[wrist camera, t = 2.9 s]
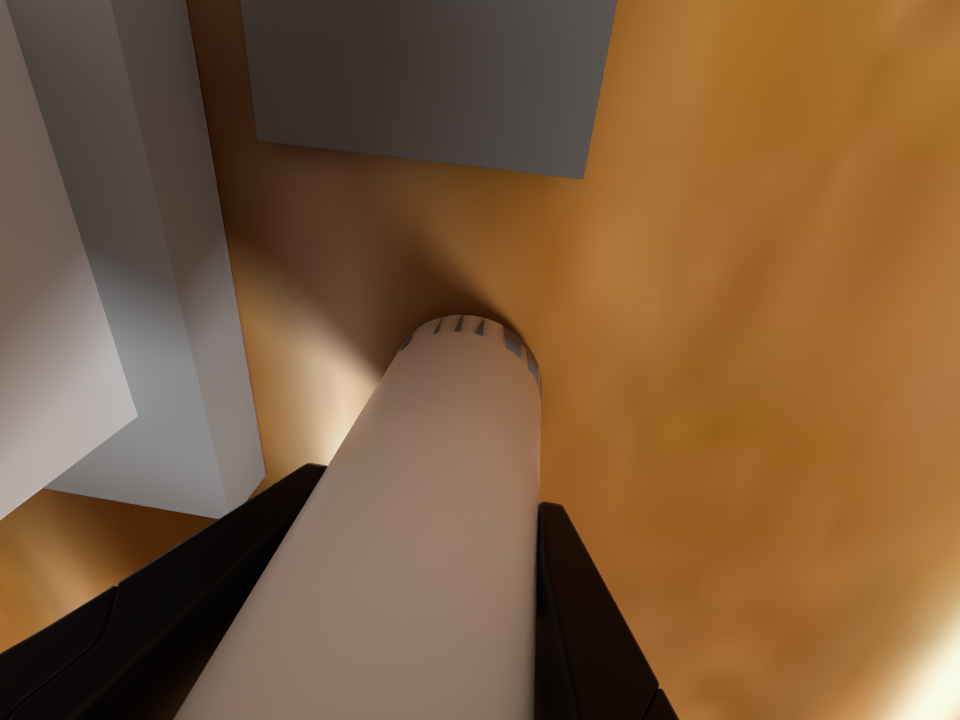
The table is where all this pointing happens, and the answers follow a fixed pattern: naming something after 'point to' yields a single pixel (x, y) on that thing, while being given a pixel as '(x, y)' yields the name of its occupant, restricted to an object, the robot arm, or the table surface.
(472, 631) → the white cylinder
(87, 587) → the table surface
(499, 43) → the pad
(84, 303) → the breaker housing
